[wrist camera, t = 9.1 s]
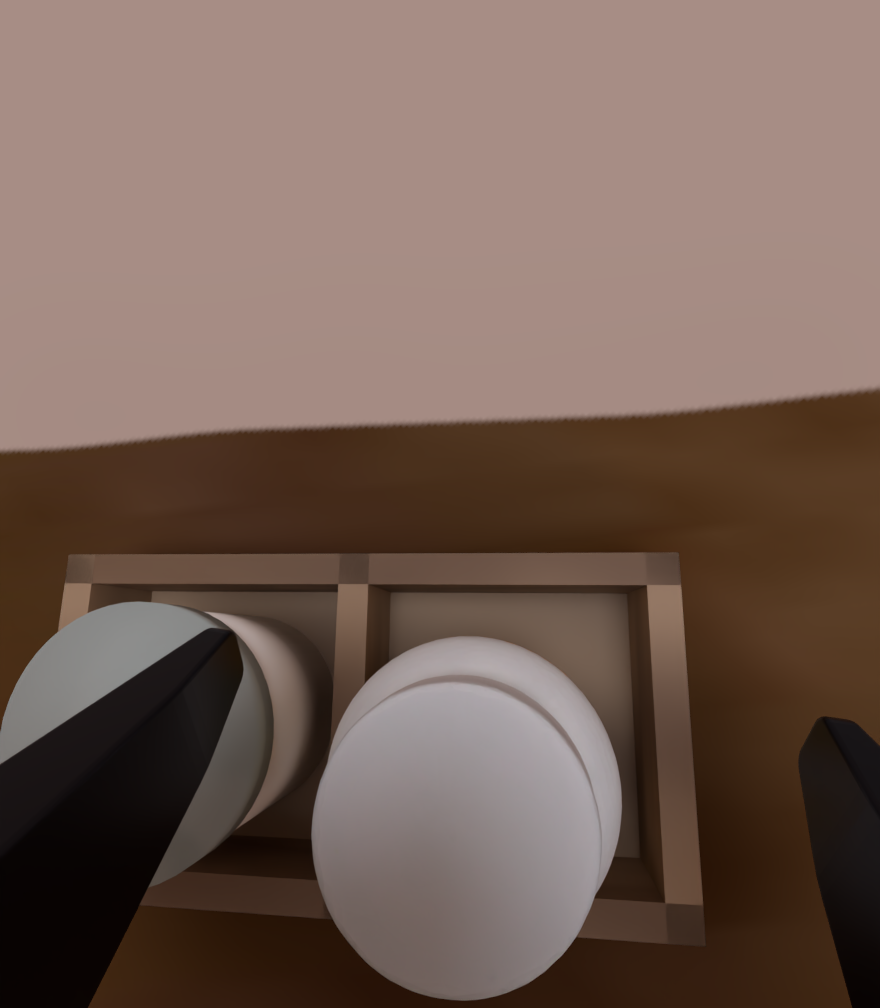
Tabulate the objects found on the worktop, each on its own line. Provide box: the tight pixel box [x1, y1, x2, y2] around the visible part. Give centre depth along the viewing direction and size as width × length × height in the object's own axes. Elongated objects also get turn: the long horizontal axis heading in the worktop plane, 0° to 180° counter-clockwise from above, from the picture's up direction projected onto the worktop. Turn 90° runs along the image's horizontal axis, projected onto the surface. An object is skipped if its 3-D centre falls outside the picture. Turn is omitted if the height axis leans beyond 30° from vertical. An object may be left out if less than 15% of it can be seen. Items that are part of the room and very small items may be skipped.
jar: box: [0, 602, 333, 887], centre depth 16 cm, size 6×6×6 cm
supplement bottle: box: [311, 636, 622, 1001], centre depth 13 cm, size 5×5×10 cm
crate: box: [58, 553, 706, 947], centre depth 17 cm, size 9×16×4 cm, turn 89°
